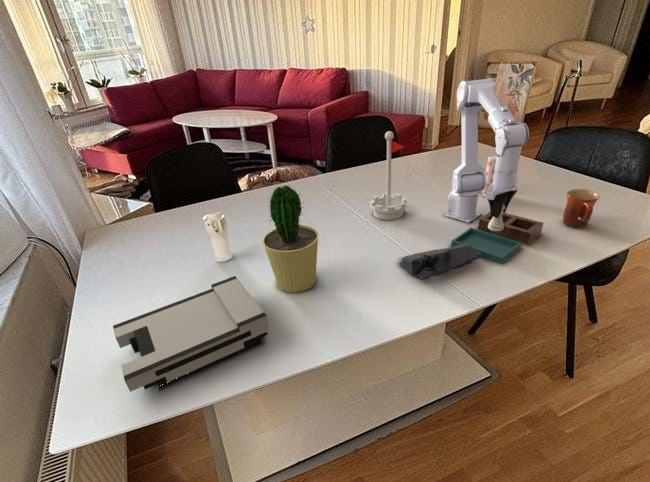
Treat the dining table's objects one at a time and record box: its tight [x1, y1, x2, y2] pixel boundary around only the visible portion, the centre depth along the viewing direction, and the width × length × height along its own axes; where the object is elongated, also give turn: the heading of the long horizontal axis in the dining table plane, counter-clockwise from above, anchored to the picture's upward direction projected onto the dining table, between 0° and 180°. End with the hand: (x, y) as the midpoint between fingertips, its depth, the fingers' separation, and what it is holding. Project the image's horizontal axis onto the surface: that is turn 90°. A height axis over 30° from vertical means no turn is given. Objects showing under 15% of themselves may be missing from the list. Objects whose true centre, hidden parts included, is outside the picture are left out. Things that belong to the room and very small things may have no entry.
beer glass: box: [202, 211, 234, 263], centre depth 128 cm, size 7×7×15 cm
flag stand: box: [370, 130, 408, 221], centre depth 140 cm, size 13×13×30 cm
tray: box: [450, 227, 522, 265], centre depth 121 cm, size 16×11×2 cm
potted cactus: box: [262, 184, 319, 293], centre depth 108 cm, size 15×15×30 cm
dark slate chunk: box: [399, 245, 483, 280], centre depth 114 cm, size 15×22×5 cm
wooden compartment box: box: [477, 211, 544, 246], centre depth 127 cm, size 16×9×4 cm, turn 42°
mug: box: [562, 188, 601, 229], centre depth 124 cm, size 12×9×10 cm
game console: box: [112, 275, 271, 393], centre depth 95 cm, size 21×32×8 cm, turn 120°
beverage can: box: [482, 154, 497, 198], centre depth 149 cm, size 6×6×15 cm
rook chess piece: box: [488, 204, 505, 232], centre depth 117 cm, size 4×4×8 cm
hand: (497, 214), depth 117 cm, fingers closed on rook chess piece, 3 cm apart
